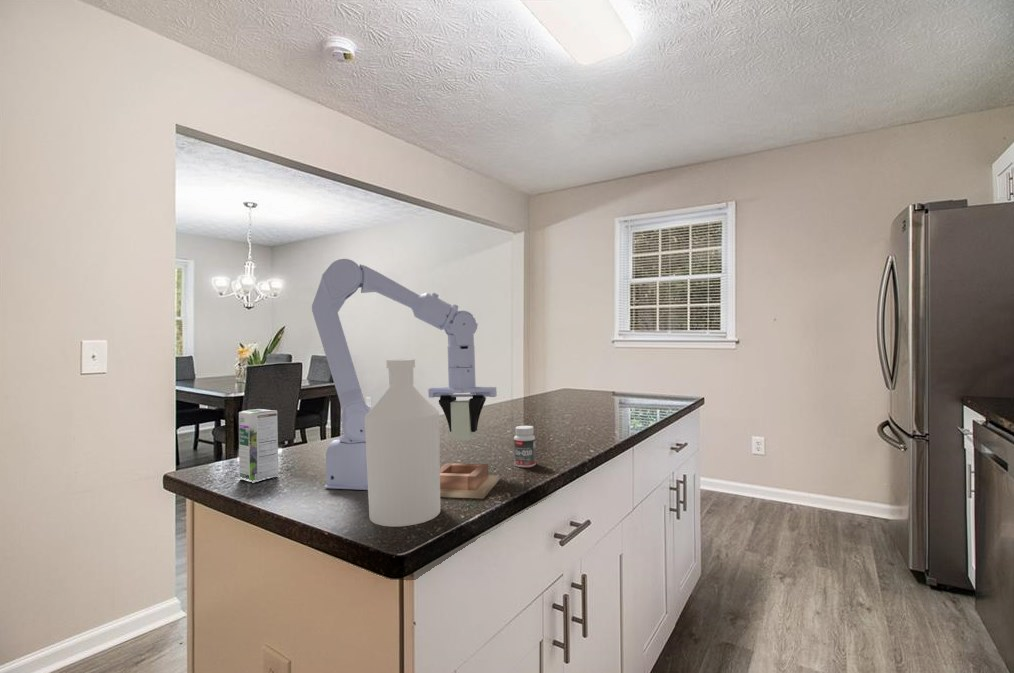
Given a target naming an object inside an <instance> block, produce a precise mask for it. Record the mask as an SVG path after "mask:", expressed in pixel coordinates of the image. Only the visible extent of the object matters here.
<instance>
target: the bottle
mask: <svg viewBox="0 0 1014 673" xmlns="http://www.w3.org/2000/svg"><path fill="white" fill-rule="evenodd" d="M414 368H416V359H415V358H406V359H405V358H404V359H386V369H388V379H389V380H388V382H389V387H388V389H387V390H386V391H385V392H384V394H383V395H382V396H381V398H379V400H378V401H377V403H376V404H375V405H374V406H373V407H372V408H370V409H371V410H370V411H369V412H368V413H367V414H366V415H365V436H366V457H367V478H368V490H367V496H368V499H367V500H368V514H369V515H368V516H369V518H368V519H369V520H370V522H371V523H373V524H375V525H379V526H383V527H407V526H412V525H415V526H416V525H418V524H419V525H420V524H422V523H426V522H428V521H430V520H433V519H435V518H437V517H438V515H439V514H440V513H441V497H440V468H441V460H440V459H441V456H440V455H441V454H440V453H441V452H440V451H441V450H440V448H441V447H440V412H439V410H438V409H437V408H436V407H434V405H433V404H431V403H430V402H429V401H428V400H427V399H426V398H425V397H424V395H423V394H421V393H420V391H419V390H418V389H416V387H415V386H414Z"/></svg>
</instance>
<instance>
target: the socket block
mask: <svg viewBox="0 0 1014 673" xmlns="http://www.w3.org/2000/svg"><path fill="white" fill-rule="evenodd" d="M498 482H500V480H499V475H494V474H493V475H492V474H490V475H489V464H488V463H487V464H486V463H461V462H460V463H455V462H450V463H449V462H446V463H445V464H443V465H441V466H440V498H457V499H458V498H460V499H480V500H481V499H485V498H486V497H487V495H488V494H489V493H490V491H491V490H492V489H493V488H494V487H495V486H496V485H497V483H498Z"/></svg>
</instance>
